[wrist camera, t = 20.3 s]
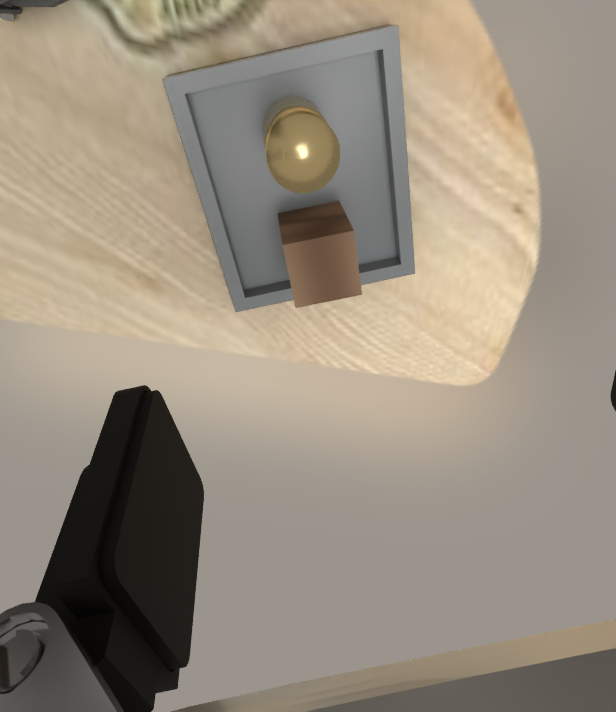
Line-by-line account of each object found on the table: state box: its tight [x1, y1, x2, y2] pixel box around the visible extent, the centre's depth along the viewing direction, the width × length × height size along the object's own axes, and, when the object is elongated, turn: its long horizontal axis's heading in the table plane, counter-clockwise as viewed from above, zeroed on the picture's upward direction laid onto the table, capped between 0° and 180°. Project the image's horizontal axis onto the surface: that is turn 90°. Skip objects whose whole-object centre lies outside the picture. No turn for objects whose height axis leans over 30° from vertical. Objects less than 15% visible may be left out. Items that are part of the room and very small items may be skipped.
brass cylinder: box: [263, 96, 340, 193], centre depth 30 cm, size 4×4×7 cm
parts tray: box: [163, 25, 415, 312], centre depth 34 cm, size 14×16×2 cm
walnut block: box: [278, 201, 362, 308], centre depth 34 cm, size 4×4×6 cm
